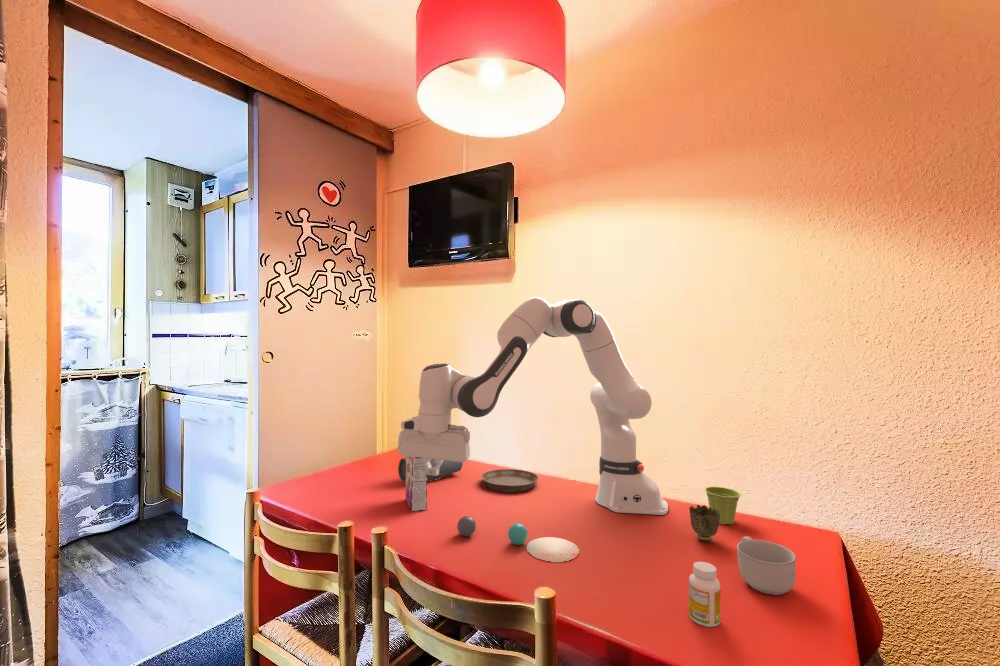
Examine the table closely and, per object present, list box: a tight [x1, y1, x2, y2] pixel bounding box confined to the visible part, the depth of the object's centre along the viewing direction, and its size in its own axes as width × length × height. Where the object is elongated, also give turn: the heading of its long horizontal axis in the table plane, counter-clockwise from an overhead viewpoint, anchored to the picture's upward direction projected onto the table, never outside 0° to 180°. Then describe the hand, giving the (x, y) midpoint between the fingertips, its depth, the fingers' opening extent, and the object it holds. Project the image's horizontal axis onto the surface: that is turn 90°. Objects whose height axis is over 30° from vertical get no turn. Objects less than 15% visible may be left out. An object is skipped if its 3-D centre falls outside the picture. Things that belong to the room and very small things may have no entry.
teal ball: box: [507, 522, 529, 546], centre depth 112 cm, size 5×5×5 cm
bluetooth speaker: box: [397, 456, 464, 483], centre depth 163 cm, size 23×9×10 cm, turn 130°
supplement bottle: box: [688, 561, 722, 628], centre depth 83 cm, size 5×5×10 cm
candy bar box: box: [405, 456, 428, 512], centre depth 137 cm, size 11×5×16 cm, turn 22°
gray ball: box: [456, 515, 477, 538], centre depth 116 cm, size 5×5×5 cm
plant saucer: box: [480, 468, 539, 493], centre depth 159 cm, size 21×21×3 cm
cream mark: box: [526, 536, 580, 563], centre depth 109 cm, size 13×13×1 cm
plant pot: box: [704, 486, 741, 526], centre depth 130 cm, size 9×9×9 cm
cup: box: [688, 504, 720, 543], centre depth 117 cm, size 8×7×8 cm
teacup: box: [736, 536, 797, 596], centre depth 96 cm, size 14×11×8 cm
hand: (432, 474), depth 119 cm, fingers closed
